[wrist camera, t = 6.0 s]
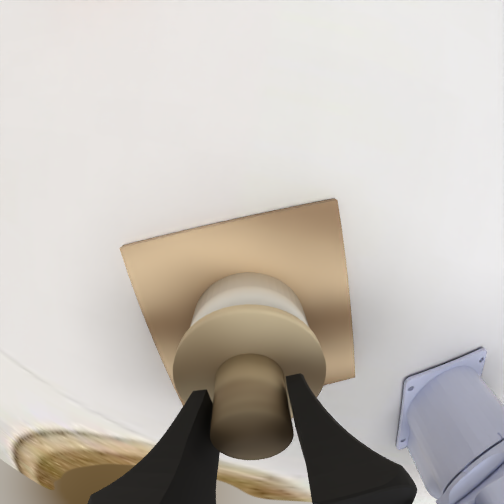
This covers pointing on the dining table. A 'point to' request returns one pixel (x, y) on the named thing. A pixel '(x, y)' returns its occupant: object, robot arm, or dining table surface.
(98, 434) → the dining table surface
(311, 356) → the lid
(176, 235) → the square wooden coaster
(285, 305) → the jar
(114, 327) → the dining table surface
